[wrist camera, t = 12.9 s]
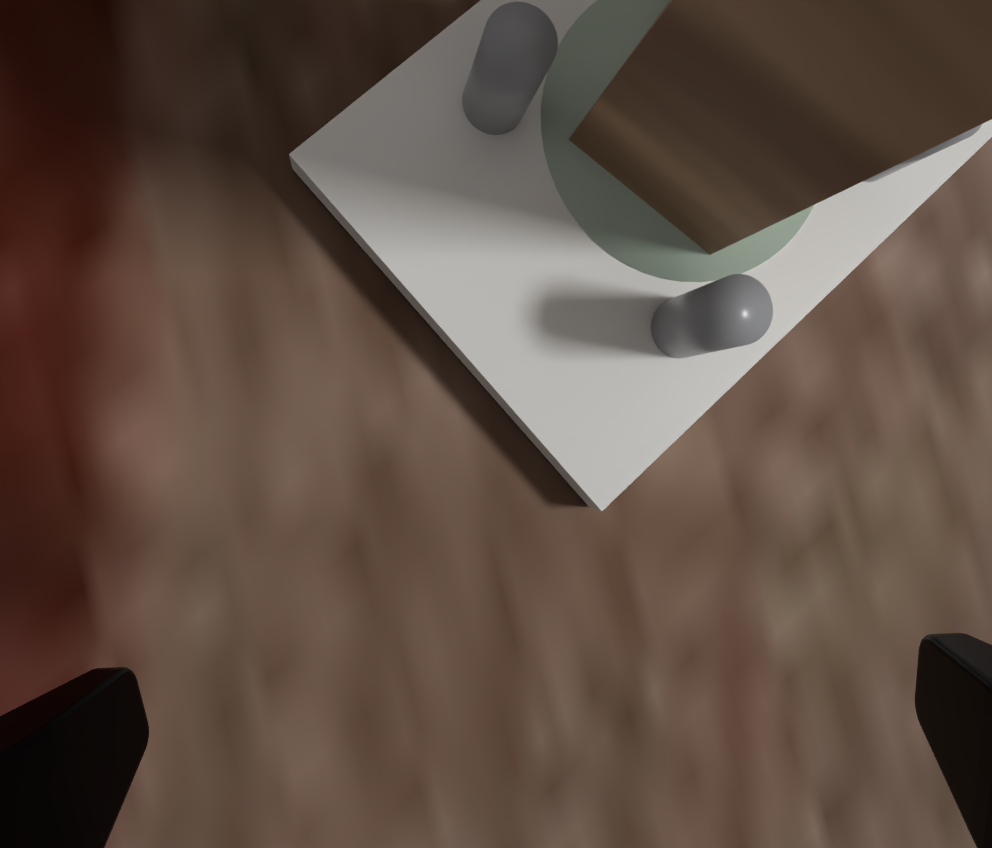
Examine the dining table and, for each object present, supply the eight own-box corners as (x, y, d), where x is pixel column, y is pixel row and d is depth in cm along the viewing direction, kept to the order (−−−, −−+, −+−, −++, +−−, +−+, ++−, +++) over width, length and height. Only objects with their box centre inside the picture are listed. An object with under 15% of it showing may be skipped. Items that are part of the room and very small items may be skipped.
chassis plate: (589, 507, 19) (649, 527, 16) (292, 168, 18) (275, 97, 14) (990, 123, 22) (1131, 55, 18) (752, -203, 20) (848, -354, 16)
